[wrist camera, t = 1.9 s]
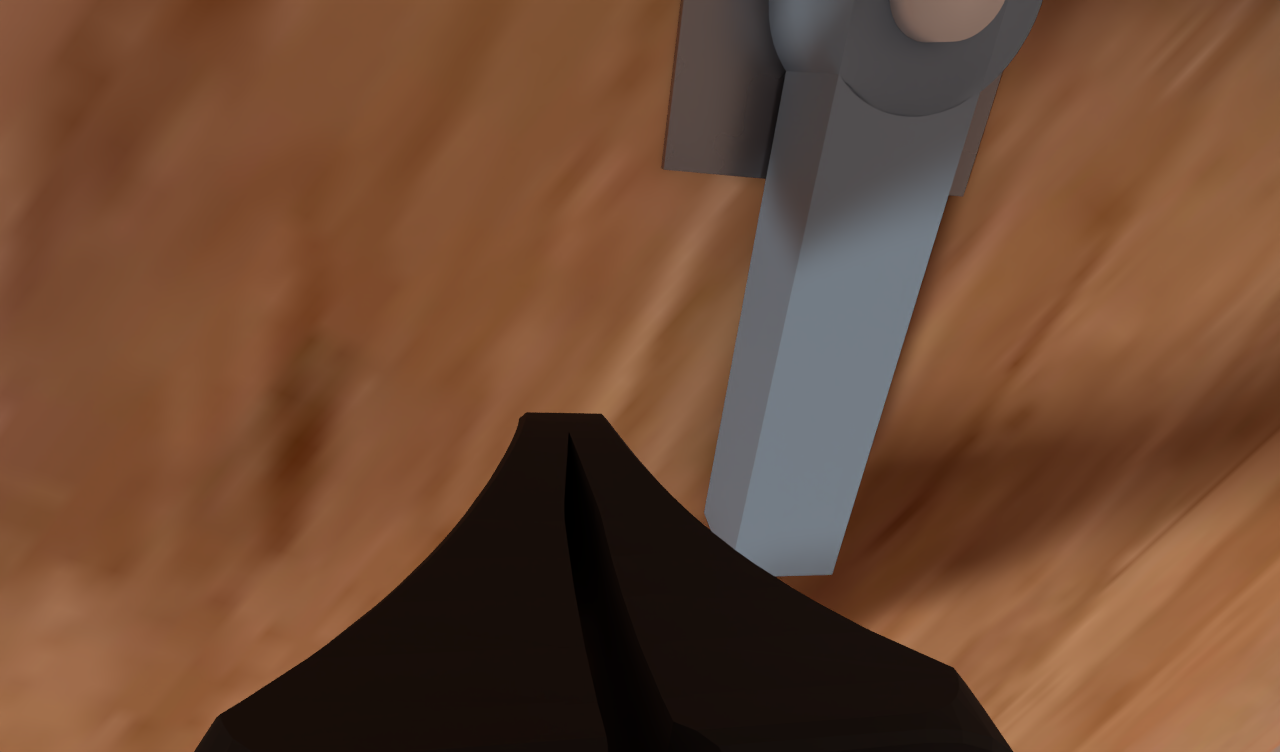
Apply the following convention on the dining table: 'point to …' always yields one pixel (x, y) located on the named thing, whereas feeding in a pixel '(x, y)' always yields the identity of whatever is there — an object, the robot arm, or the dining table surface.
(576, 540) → the robot arm
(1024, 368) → the dining table surface
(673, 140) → the grey flat square plate
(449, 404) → the dining table surface
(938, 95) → the link
